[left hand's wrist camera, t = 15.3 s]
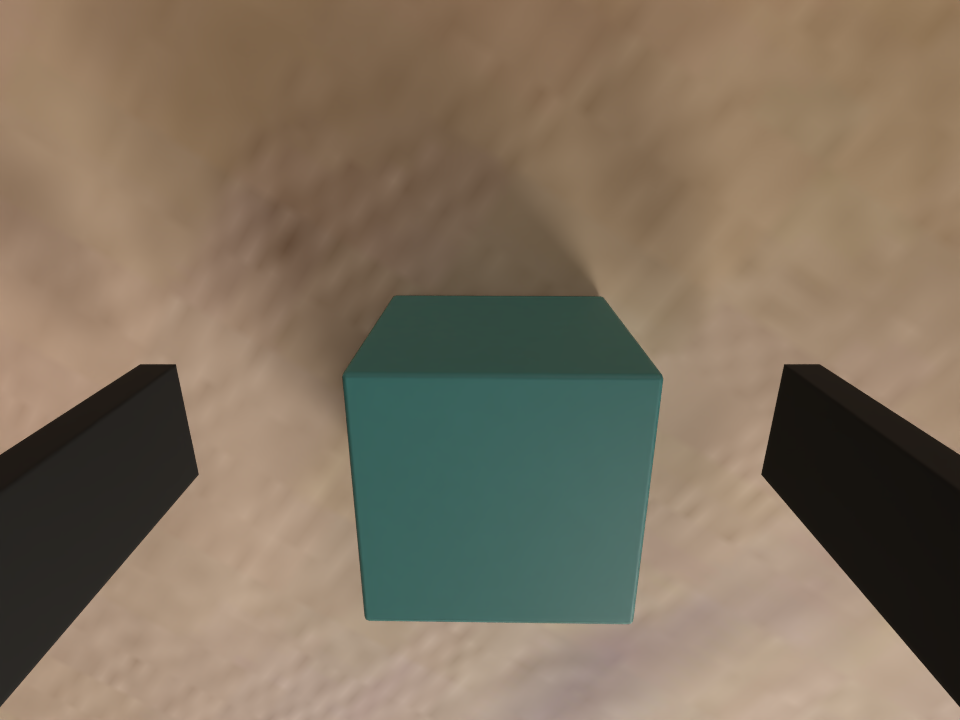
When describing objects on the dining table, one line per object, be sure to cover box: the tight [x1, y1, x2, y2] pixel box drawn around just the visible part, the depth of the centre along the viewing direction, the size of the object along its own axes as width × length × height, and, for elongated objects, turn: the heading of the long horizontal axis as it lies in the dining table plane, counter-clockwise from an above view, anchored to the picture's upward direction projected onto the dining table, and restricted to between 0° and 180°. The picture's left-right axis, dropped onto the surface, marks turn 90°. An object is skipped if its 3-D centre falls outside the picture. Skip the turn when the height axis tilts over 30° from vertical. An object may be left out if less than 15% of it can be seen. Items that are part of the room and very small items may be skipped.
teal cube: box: [342, 296, 663, 624], centre depth 12 cm, size 5×5×5 cm
